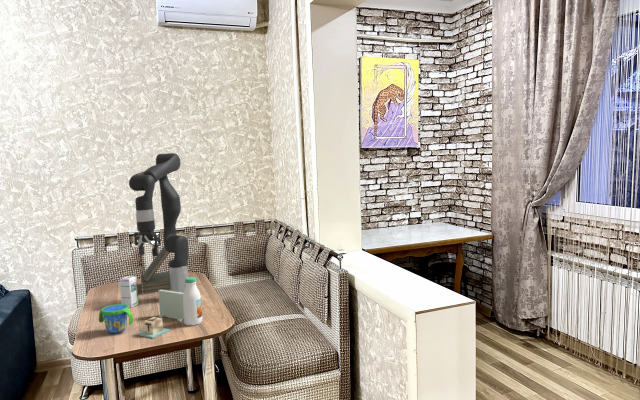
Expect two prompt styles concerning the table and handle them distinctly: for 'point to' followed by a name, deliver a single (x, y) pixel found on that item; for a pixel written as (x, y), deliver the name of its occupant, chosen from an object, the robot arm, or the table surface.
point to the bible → (156, 275)
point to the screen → (171, 304)
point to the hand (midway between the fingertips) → (148, 255)
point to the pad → (153, 334)
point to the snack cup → (115, 317)
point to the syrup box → (129, 291)
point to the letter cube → (153, 325)
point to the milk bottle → (192, 303)
